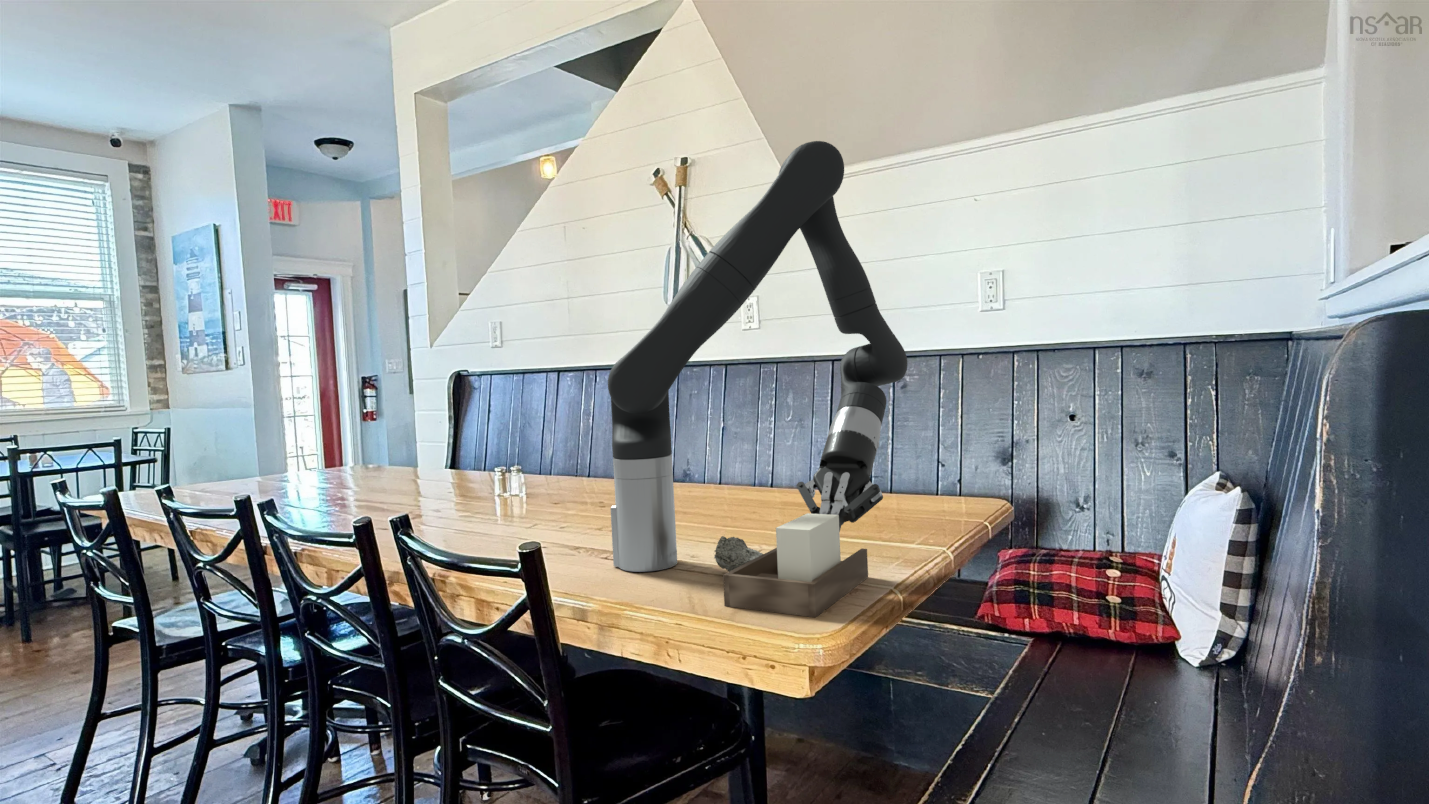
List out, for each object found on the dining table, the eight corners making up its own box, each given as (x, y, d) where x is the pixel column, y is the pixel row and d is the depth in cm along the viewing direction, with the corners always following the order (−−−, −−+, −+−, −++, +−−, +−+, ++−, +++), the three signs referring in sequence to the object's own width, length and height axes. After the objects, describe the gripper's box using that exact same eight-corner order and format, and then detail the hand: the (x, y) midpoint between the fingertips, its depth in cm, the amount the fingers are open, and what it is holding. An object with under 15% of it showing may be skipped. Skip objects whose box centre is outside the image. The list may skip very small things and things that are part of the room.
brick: (778, 591, 97) (775, 527, 96) (810, 571, 105) (807, 513, 105) (812, 594, 94) (809, 530, 94) (841, 574, 103) (838, 515, 103)
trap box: (724, 605, 98) (722, 574, 98) (787, 569, 115) (786, 542, 114) (815, 617, 92) (814, 584, 92) (868, 577, 108) (867, 548, 108)
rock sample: (774, 556, 107) (739, 511, 112) (733, 592, 108) (700, 546, 112) (797, 570, 116) (764, 528, 121) (759, 604, 116) (728, 560, 121)
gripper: (802, 428, 116) (771, 525, 105) (889, 427, 109) (863, 531, 99) (818, 459, 120) (789, 555, 110) (901, 460, 114) (878, 562, 104)
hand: (824, 543), depth 104 cm, fingers closed
